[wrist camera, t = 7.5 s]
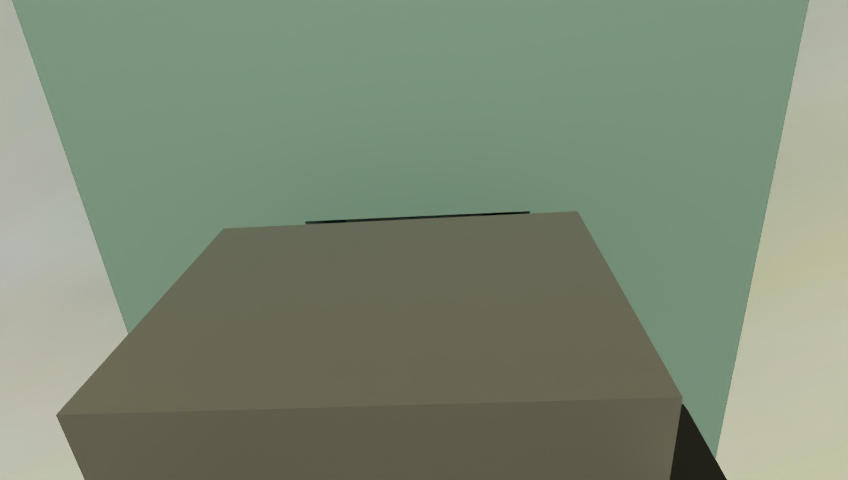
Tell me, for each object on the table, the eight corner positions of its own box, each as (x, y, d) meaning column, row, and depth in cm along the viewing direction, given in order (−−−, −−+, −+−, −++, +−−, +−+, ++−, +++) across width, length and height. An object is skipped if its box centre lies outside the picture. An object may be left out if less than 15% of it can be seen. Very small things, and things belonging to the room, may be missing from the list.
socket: (713, -55, 14) (822, -67, 10) (651, 414, 20) (701, 525, 16) (131, -10, 15) (10, -5, 11) (245, 422, 21) (196, 528, 17)
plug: (543, 150, 14) (681, 396, 6) (538, 367, 17) (627, 744, 8) (280, 165, 14) (55, 415, 6) (318, 374, 17) (200, 739, 9)
